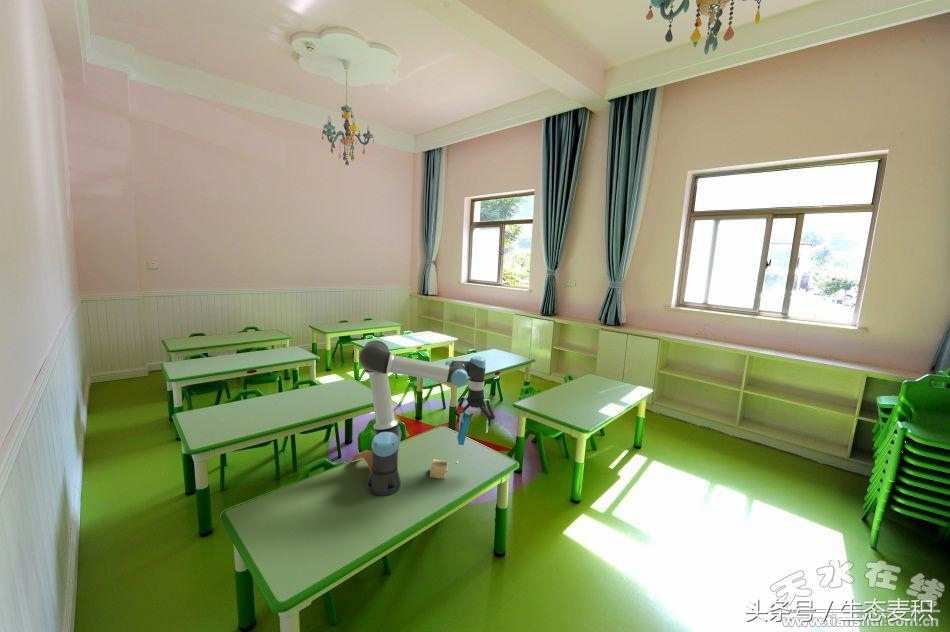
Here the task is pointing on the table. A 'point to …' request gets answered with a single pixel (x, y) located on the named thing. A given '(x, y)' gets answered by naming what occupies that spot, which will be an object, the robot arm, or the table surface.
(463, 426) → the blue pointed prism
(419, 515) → the table surface
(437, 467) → the oak block
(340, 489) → the table surface
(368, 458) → the arch
